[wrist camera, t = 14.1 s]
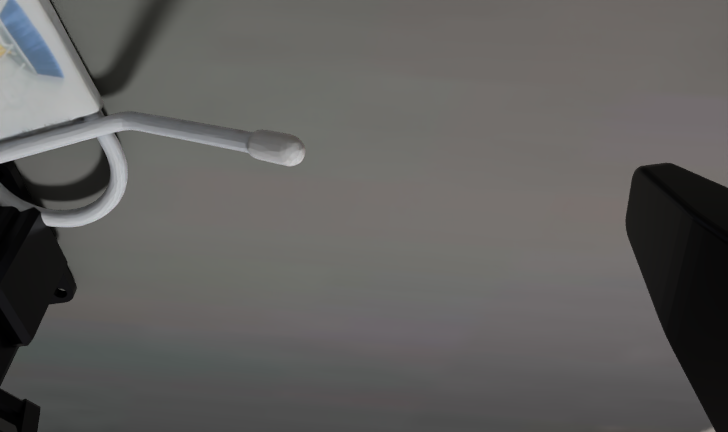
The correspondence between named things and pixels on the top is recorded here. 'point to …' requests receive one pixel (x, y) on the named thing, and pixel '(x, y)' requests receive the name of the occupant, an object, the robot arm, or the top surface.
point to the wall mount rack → (86, 111)
